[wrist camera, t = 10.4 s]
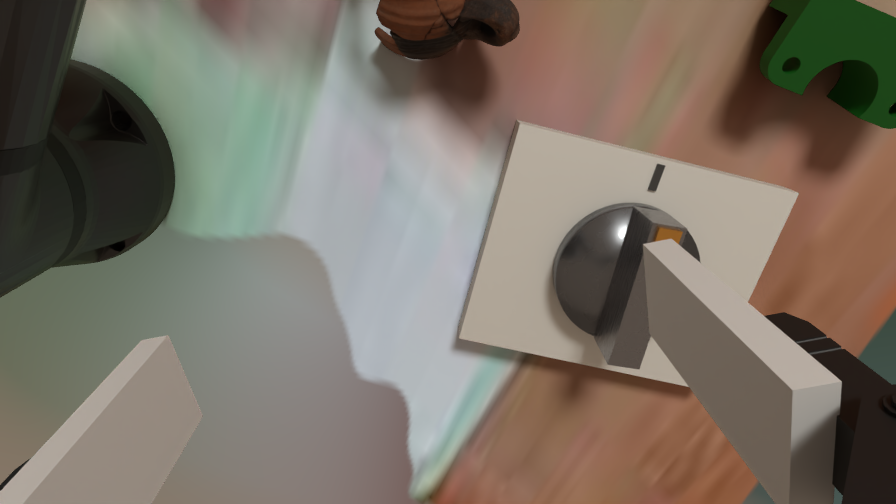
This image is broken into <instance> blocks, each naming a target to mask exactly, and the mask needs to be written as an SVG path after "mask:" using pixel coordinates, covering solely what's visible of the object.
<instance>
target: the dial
mask: <svg viewBox="0 0 896 504" xmlns="http://www.w3.org/2000/svg"><path fill="white" fill-rule="evenodd" d="M667 239H673V240H674V241H675V242H676V243H677V244H679V245H680V246H681V247H682V248H683V249H685V250H686V251H687V252H688V253H689V254H690V255H692V256H693V257H694V258H695V259H696V260H698V261H699V262H700V255H699V251H698V248H697V245H696V243H695V241H694V239H693V237H692V236H691V234H690V233H689V231H688V230H687V228H686V227H685V226H683V225H682V224H681V223H679V222H678V221H677V220H676V219H674V218H673V217H672V216H670V215H669V214H668V213H666V212H664V211H663V210H661V209H659V208H656V207H654V206H651V205H647V204H642V203H619V204H613V205H609V206H606V207H603V208H601V209H598V210H596V211H594V212H592V213H590V214H589V215H587V216H586V217H584V218H583V219H581V220H580V221H579V222H578V223H577V224H576V225H574V226H573V227H572V229H571V230H570V231H569V232H568V233H567V234H566V236H565V237H564V239H563V240H562V242H561V244H560V246H559V248H558V250H557V253H556V256H555V259H554V264H553V275H552V276H553V285H554V289H555V293H556V295H557V298H558V300H559V302H560V304H561V307H562V309H563V310H564V312H565V314H566V315H567V316H568V318H569V319H570V320H571V321H572V322H573V323H574V324H575V325H576V326H577V327H578V328H580V329H581V330H583V331H584V332H586V333H588V334H590V335H592V336H594V339H595V341H596V343H597V345H598V347H599V349H600V351H601V353H602V355H603V357H604V358H605V360H606V362H607V364H608V365H613V366H619V367H626V368H632V369H640V366H641V363H642V360H643V357H644V355H645V352H646V349H647V346H648V343H649V340H650V337H651V335H650V334H649V321H648V308H647V294H646V280H645V267H644V253H643V244H646V243H651V242H656V241H661V240H667ZM700 263H701V262H700Z"/></svg>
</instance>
